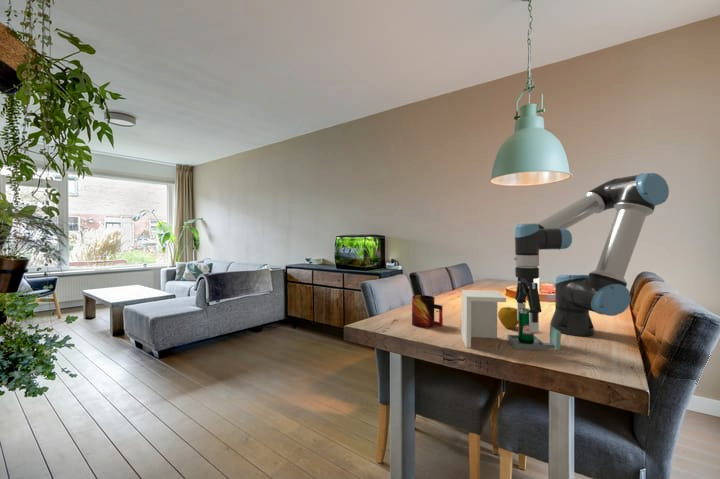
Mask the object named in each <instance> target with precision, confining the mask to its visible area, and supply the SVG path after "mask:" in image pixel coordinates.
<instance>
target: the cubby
mask: <svg viewBox="0 0 720 479" xmlns="http://www.w3.org/2000/svg"><path fill="white" fill-rule="evenodd" d="M499 303H507V297H506V296H505V295H503V294H502V293H501V292H499V291H497V290H479V289H477V290H475V289H470V290H469V289H461V338H462V341H463V343H464V345H465V347H466V348H468V349H469V348H470V349H471V348H472V338H483V339H498V304H499Z"/></svg>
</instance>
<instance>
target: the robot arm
mask: <svg viewBox="0 0 720 479" xmlns="http://www.w3.org/2000/svg"><path fill="white" fill-rule="evenodd" d="M669 188H670V187H669V185H668V182H667V180H666V179H665V178H664V177H663V176H662V175H660V174H658V173H654V172H648V173H639V174H635V175H630V176H624V177H618V178H613V179H611V180H607V181H605V182H603V183H601V184H600V185H598V186H596V187H594V188H593V189H591V190H589V191H587V192H586V193H584V195H583V196H582V198H580V199H578V200H576V201H575V202H572V203H571V204H570V205H567V206H566V207H564V208H561V209H560V210H558V211H557V212H554V213H553V214H551V215H550V216H548V217H546V218H544V219H542V220H540V221H539V222H537V223H517V224H516V225H515V230H514V243H515V244H514V246H515V249H514V250H515V252H514V253H515V257H513V260H514V261H515V266H516V267H515V270H514V271H515V272H514V273H515V278H517V284H516V285H517V286H516V291H515V297H514V298H515V299H514V300H516V309H517V320H518V317H519V310H520V309H521V308H526V304H527V302H528V306H529V307H528V308H529V309H530V310H529V311H528V313H529V331H530V332H534V333H536V332H537V333H539V332H540V330H539V327H540V326H539V325H540V324H539V323H540V322H539V318H540V317H539V313H542V306H541V301H540V300H541V299H540V296H539V287H538V282H534V280H536V279H538V278H539V277H540V269H539V266H540V251H541V250H565V249H568V248H569V247H571V245H572V242H573V236H572V232H571V231H570V230H568V229H569V228H570V227H573V226H574V225H576V224H578V223H579V222H582V221H583V220H585V219H586V218H588V217H590V216H593V214H594V215H595V214H601V213H603V212H605V211H607V210H610V209H611V210H612V209H614V210H615V211H616V213H615V216H614V218H613V221H612V224H611V227H610V229H609V233H608V235H607V238H606V241H605V244H604V246H603V249H602V252H601V255H600V256H599V260H598V263H597V266H596V268H595V270H593V271H590V272H589V274H561V275H560V274H558V275H557V276H556V278H555V283H554V285H555V288H554V289H555V290H554V292H555V308H554V309H555V310H554V313H553V315H552V318H551V321H550V323H549V324H550V326H549V328H550V327H554V328H555V329H557V330H558V331H560V332H561V334H565V335H570V336H577V337H587V336H588V337H589V336H594V334H595V327H594V324H593V321H592V319H591V318H592V317H591V316H590V312H593V313H596V314H598V315H602V316H603V315H604V316H609V317H613V316H614V317H615V316H618V315H620V314H622V313H624V312H625V311H626V310H627V309H628V308H629V307H630V303H631V301H632V300H631V299H632V297H631V295H630V294H631V292H630V290H629V289H628V288H627V286H628V282H627V281H626V279H625V276H626V273H627V270H628V267H629V265H630V261H631V258H632V257H633V253H634V250H635V248H636V244H637V242H638V239H639V237H640V234H641V231H642V228H643V225H644V222H645V220H646V217H648V216H650V215H652V214H653V213H654V210H655V208H656V206H660V205H662V204H663V203H665V202H666V201H667V200H668V198H669V194H670V189H669Z"/></svg>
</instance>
